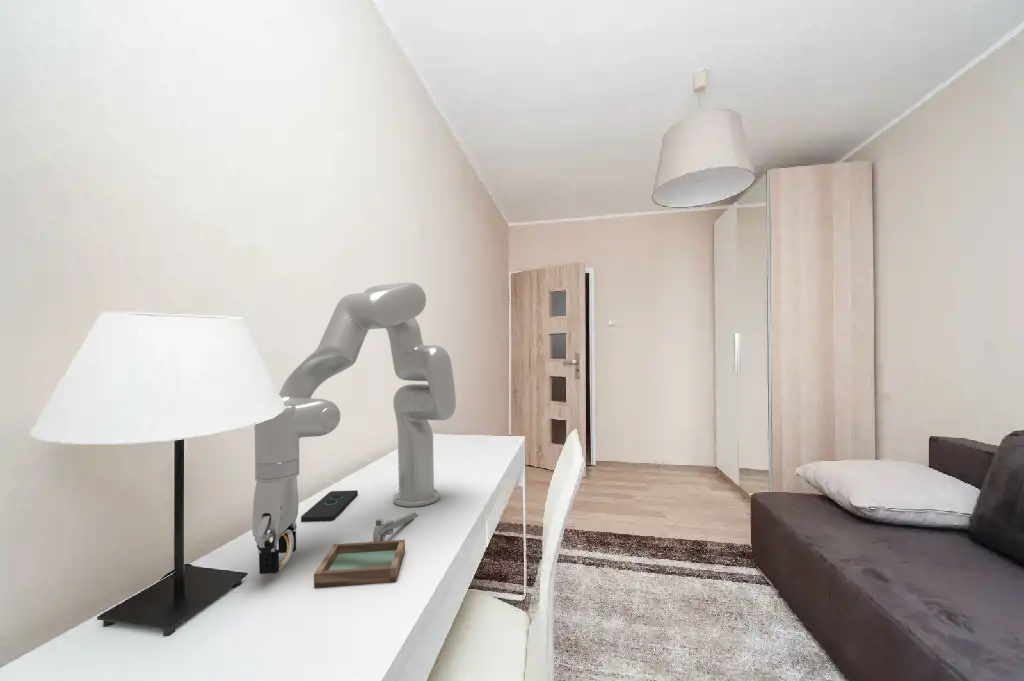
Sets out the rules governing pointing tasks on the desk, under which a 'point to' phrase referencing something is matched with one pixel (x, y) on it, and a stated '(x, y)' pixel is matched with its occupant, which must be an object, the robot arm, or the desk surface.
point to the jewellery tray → (360, 564)
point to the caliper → (390, 526)
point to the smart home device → (329, 506)
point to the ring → (290, 544)
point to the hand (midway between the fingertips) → (278, 561)
